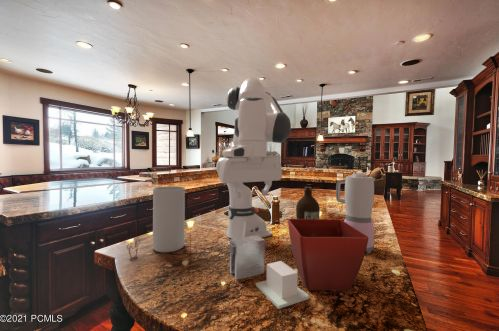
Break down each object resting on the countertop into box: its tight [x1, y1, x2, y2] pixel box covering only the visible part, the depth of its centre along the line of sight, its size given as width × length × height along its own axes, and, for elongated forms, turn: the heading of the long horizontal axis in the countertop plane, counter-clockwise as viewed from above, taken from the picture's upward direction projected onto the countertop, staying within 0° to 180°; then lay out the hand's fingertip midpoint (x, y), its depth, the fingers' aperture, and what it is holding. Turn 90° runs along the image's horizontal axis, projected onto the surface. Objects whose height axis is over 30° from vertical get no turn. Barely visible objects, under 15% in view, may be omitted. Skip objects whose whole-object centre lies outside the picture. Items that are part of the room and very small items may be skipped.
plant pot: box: [287, 218, 369, 291], centre depth 73 cm, size 19×19×17 cm
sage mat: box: [255, 279, 310, 310], centre depth 66 cm, size 10×12×1 cm
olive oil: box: [295, 186, 321, 219], centre depth 108 cm, size 11×11×25 cm
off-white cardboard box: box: [266, 260, 299, 299], centre depth 66 cm, size 5×8×6 cm, turn 27°
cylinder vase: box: [152, 185, 186, 253], centre depth 98 cm, size 12×12×25 cm
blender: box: [335, 173, 377, 254], centre depth 101 cm, size 16×12×32 cm
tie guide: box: [229, 235, 265, 281], centre depth 77 cm, size 10×5×11 cm, turn 117°
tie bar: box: [229, 241, 267, 255], centre depth 77 cm, size 12×2×2 cm, turn 117°
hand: (251, 196), depth 71 cm, fingers open, 8 cm apart
